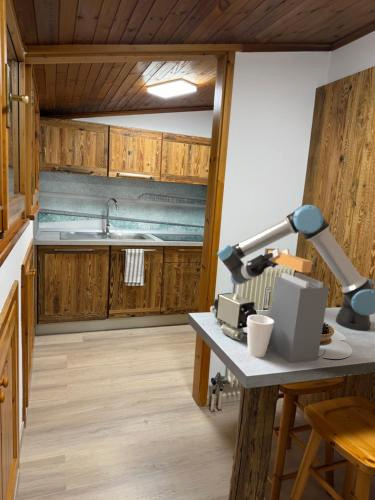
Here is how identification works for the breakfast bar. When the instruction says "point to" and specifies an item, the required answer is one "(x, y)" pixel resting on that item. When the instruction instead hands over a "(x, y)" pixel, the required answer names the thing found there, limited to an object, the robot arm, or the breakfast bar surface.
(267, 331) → the foam cup
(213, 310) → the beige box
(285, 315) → the charcoal stand
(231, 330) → the ball valve
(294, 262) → the orange bar
